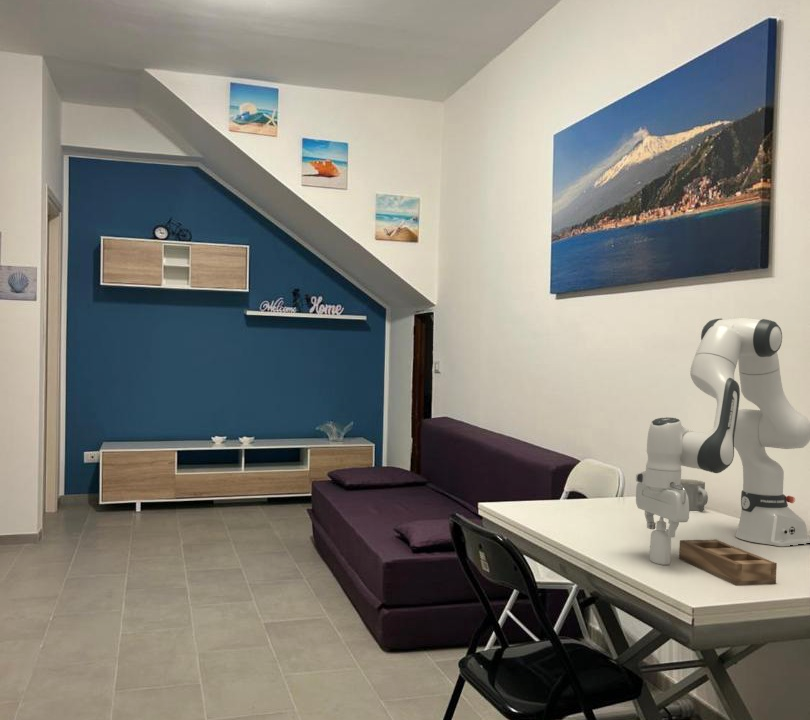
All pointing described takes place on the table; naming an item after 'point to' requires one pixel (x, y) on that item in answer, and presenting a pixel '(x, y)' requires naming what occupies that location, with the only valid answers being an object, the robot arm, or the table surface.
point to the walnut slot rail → (728, 562)
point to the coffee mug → (695, 494)
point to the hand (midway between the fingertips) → (660, 532)
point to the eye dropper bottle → (660, 544)
